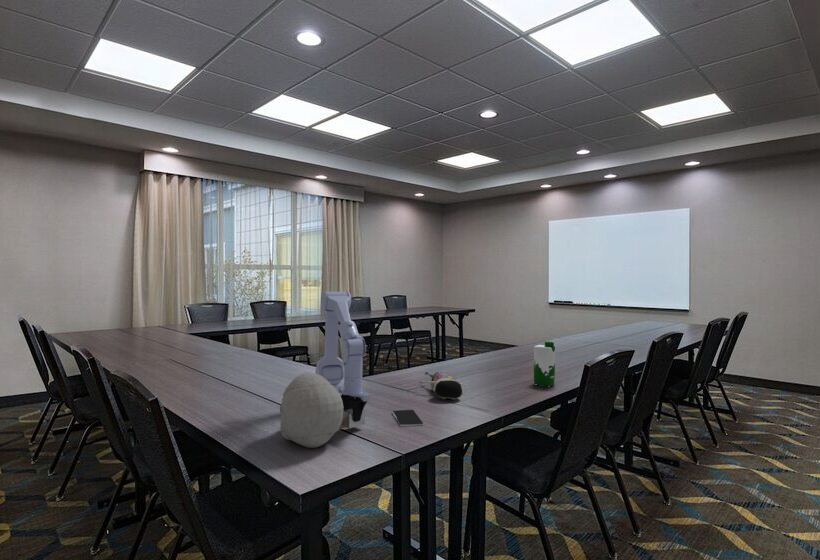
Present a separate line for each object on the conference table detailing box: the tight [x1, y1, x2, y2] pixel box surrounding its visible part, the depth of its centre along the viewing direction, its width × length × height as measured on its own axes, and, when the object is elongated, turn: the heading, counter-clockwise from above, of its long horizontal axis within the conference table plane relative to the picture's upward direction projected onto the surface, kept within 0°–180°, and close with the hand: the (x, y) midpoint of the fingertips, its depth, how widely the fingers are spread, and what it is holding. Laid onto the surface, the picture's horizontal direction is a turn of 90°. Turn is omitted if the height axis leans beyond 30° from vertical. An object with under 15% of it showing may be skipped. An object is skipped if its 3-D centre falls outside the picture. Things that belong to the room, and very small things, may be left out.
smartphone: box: [391, 409, 424, 427], centre depth 149 cm, size 8×1×15 cm
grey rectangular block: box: [342, 409, 366, 429], centre depth 138 cm, size 4×6×4 cm, turn 133°
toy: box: [418, 371, 473, 401], centre depth 185 cm, size 23×9×30 cm
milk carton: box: [533, 341, 557, 387], centre depth 201 cm, size 9×9×20 cm
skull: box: [279, 371, 344, 449], centre depth 129 cm, size 17×27×20 cm, turn 28°
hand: (352, 419), depth 137 cm, fingers closed on grey rectangular block, 4 cm apart
